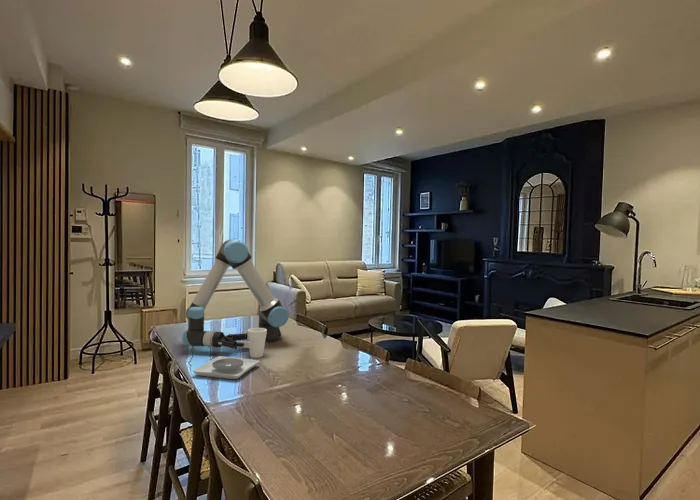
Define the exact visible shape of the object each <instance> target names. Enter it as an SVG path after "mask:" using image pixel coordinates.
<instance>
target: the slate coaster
mask: <svg viewBox="0 0 700 500" xmlns="http://www.w3.org/2000/svg"><path fill="white" fill-rule="evenodd" d="M212 366H213V367H214V368H216V369H221V370H229V369H236V368H239V367H241V366H243V361H242V360H240V359H234V358H227V359H220V360H217V361H215V362H213V363H212Z"/></svg>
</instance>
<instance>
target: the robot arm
mask: <svg viewBox="0 0 700 500" xmlns="http://www.w3.org/2000/svg"><path fill="white" fill-rule="evenodd" d="M252 260H253V256H252V255H251V253H250V250H249V247H248V245H247V244H246V243H245V242H244V241H242V240H239V239H228V240H225V241H224V242H223V243H222V244H221V246H220V248H219V250H218V252H217V254H216V256H215V257H214V261H215V262H214V263H213V265H212V267H211V268H210V270H209V272H208V274H207V275H206V277H205V279H204V281H203V282H202V285H200V288H199V289H198V291H197V293H196V295H195V297H194V299H192V303H191V304H190V305H189V307H188V308H186V310H185V317H186V319H187V326H188V328H187V330H185V331H184V332H183V334H182V343H183V345H185V346H190V347H207V348H212V347H214V348H221V347H225V348H230V349H234V350H237V349H238V348H247V349H249V348H251V342H248V335H247V332H246V333H235V334H234V333H232V334H231V333H229V334H227V335H225V334H224V332H222V331H207V330H205V309H206V308H207V305H208V304H209V303H210V301H211V300H212V299H211V298H212V297H213V295H214V293H215V292H216V290H217V288H218V286H219V285H220V283H221V281H222V280H223V278H224V275H225V274H226V272H227V271H228V270H229V269H228V268H232V270H234V271H237V272H238V274H239V276H240V277H241V278H242V280H243V281H244V283H245V285H246V287H248V289H249V291H250V292H251V294H252V295H253V297H254V298H255V300H256V301H257V303H258V327H257V328H265V329H267V335H266V339H265V343H272V342H278V341H281V340H282V332H281V329H280V328H281V327H284V326H285V325H286V324H287V322H288V320H289V318H290V317H289V316H290V315H289V314H290V313H289V311H288V310H287V308H286V307H285V306H284V305H283V304H282V303H281V301H280V300H279V298H278V297H275V296H273V294H272V292H271V290H270V289H269V287H268V285H267V284H266V283H265V281H264V279H263V278H262V276H261V275H260V272H258V270H257V268H256V266H255V265H254V264H253V262H252ZM245 340H247V341H245Z"/></svg>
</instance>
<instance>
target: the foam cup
mask: <svg viewBox="0 0 700 500" xmlns="http://www.w3.org/2000/svg"><path fill="white" fill-rule="evenodd" d="M246 333H247V335H248V340H247V342H251V348H248V349H249V355H250V358H255V359H256V358H257V359H258V358H262V357H263V356H264V351H265V345H266V342H265V339H266V335H267V329H265V328H258V327H251V328H248V329H247V331H246Z"/></svg>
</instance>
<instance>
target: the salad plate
mask: <svg viewBox="0 0 700 500" xmlns="http://www.w3.org/2000/svg"><path fill="white" fill-rule="evenodd" d="M227 358H234V359H240V360H242V361H243V366H241V367H239V368H236V369H229V370H221V369H216V368H214V367H213V366H212V363H213V362H215V361H217V360H220V359H227ZM259 362H260V360H259V359H258V360H257V359H251V358H241V357H233V356H223V355H222V356H221V355H218V356H216V357H215V358H213V359H211V360H209V361H207V362H206V363H204V364H202V365H200V366H198V367H196V368H195V369H193V370H192V372H193V373H194V374H195V375H197V376H200V377H201V376H202V377H210V378H216V379H217V378H218V379H225V380H226V379H227V380H237V379H239V378H241V377H242V376H243V375H244V374H246V373H247V372H249V371H251V369H253V368H254V367H256V366H257V365H258V364H259Z"/></svg>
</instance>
